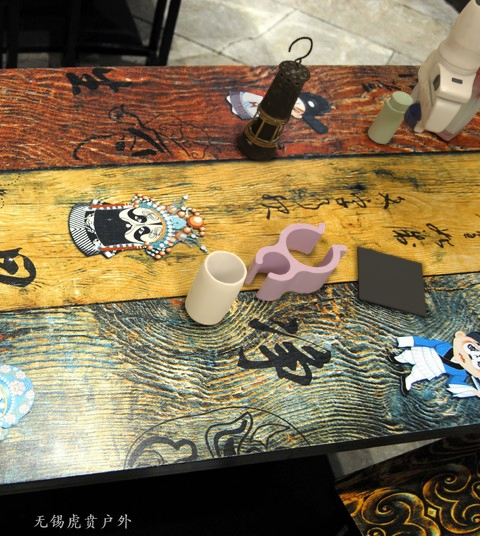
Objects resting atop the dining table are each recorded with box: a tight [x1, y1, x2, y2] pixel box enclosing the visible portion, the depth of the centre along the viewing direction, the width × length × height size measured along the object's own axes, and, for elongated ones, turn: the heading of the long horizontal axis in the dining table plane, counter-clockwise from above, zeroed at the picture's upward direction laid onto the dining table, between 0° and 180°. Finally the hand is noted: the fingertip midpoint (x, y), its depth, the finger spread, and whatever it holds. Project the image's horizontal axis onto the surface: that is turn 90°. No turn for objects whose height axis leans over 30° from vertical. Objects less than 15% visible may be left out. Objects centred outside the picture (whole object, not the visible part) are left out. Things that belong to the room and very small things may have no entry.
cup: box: [184, 250, 248, 326], centre depth 136 cm, size 8×8×14 cm
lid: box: [403, 103, 427, 132], centre depth 158 cm, size 6×6×2 cm
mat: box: [357, 246, 427, 318], centre depth 153 cm, size 14×14×1 cm
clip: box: [243, 222, 348, 302], centre depth 148 cm, size 20×12×7 cm, turn 122°
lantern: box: [237, 36, 314, 162], centre depth 160 cm, size 9×9×30 cm
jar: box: [367, 90, 413, 145], centre depth 176 cm, size 6×6×12 cm
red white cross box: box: [409, 68, 480, 142], centre depth 175 cm, size 14×10×30 cm
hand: (416, 119), depth 159 cm, fingers closed on lid, 6 cm apart
